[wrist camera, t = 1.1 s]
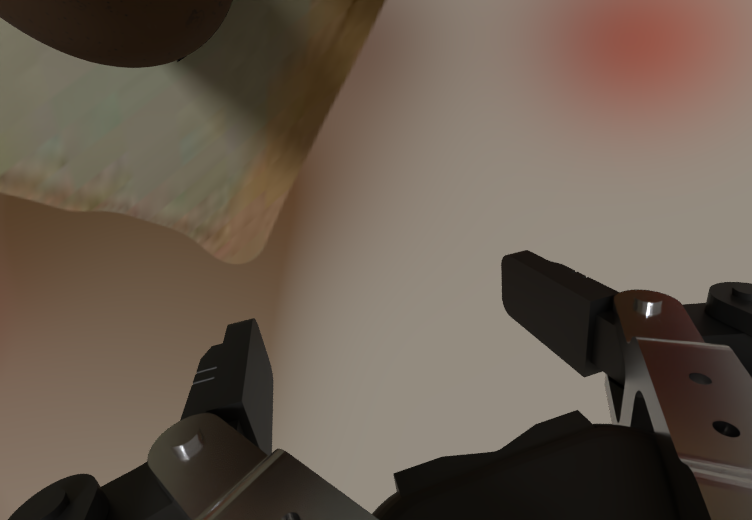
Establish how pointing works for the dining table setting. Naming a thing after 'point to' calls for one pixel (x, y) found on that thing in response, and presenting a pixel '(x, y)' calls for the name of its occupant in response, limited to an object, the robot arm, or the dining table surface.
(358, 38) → the dining table surface
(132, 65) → the brown bottle
